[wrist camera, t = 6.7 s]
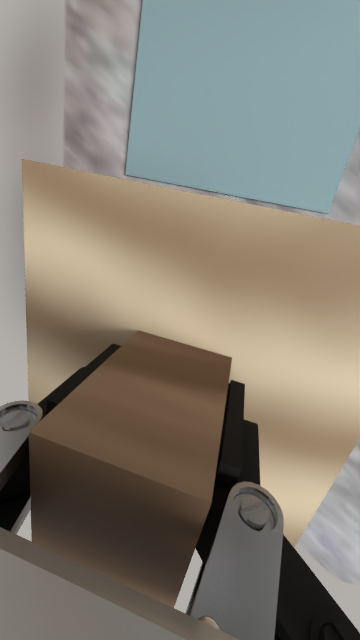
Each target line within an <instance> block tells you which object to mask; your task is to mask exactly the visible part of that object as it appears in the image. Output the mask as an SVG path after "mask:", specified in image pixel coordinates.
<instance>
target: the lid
mask: <svg viewBox="0 0 360 640" xmlns="http://www.w3.org/2000/svg"><path fill="white" fill-rule="evenodd" d="M22 182H23V218H24V250H25V251H24V252H25V287H26V322H27V357H28V391H29V401H31V402H34V403H36V404H38V403H39V402H40V401H42V400H43V399H44V398H45V397H46V396H48V395H49V394H50V393H51V392H52V391H53V390H55V389H56V388H57V387H58V386H59V385H61V384H62V383H63V382H64V381H65V380H67V379H68V378H69V377H70V376H71V375H73V374H74V373H75V372H76V371H77V370H79V369H80V368H82V367H85V366H87V365H88V364H89V363H90V362H91V361H92V360H94V359H95V358H96V357H97V356H98V355H100V354H101V353H102V352H103V351H104V350H105V349H107V348H108V347H109V346H110V345H111V344H117V345H120V346H121V347H120V348H119V349H118V350H116V351H115V352H114V353H113V354H112V355H111V356H110V357H109V358H108V359H107V360H106V361H105V362H103V363H102V364H101V365H100V366H99V367H98V368H97V369H96V370H95V371H94V372H93V373H92V374H91V375H89V376H88V377H87V378H86V379H85V380H84V381H83V382H82V383H81V384H80V385H79V386H78V387H77V388H75V389H74V390H73V391H72V392H71V393H70V394H69V395H68V396H67V397H66V398H65V399H64V400H63V401H61V402H60V403H59V404H58V405H57V406H56V407H55V408H54V409H53V410H52V411H51V412H50V413H48V414H47V415H46V416H45V417H44V418H43V419H42V420H41V421H40V422H39V423H38V424H37V425H36V426H34V427H33V428H32V429H31V430H30V431H29V464H30V497H31V529H32V542H33V543H35V544H37V545H40V546H42V547H44V548H46V549H48V550H50V551H52V552H55V553H57V554H59V555H61V556H63V557H65V558H68V559H70V560H72V561H74V562H76V563H78V564H80V565H83V566H85V567H87V568H89V569H91V570H93V571H96V572H98V573H100V574H102V575H104V576H106V577H108V578H111V579H113V580H115V581H117V582H119V583H121V584H123V585H125V586H128V587H130V588H132V589H134V590H136V591H138V592H140V593H142V594H145V595H147V596H149V597H151V598H153V599H155V600H157V601H159V602H162V603H164V604H166V605H168V606H170V607H172V608H174V605H175V603H176V600H177V597H178V594H179V591H180V589H181V586H182V583H183V580H184V578H185V574H186V572H187V569H188V566H189V564H190V561H191V558H192V555H193V553H194V550H195V547H196V545H197V542H198V539H199V536H200V534H201V531H202V528H203V525H204V523H205V520H206V517H207V514H208V511H209V509H210V506H211V503H212V496H213V489H214V482H215V475H216V468H217V461H218V454H219V447H220V440H221V433H222V426H223V419H224V412H225V405H226V398H227V390H228V383H230V381H231V380H234V381H237V382H240V383H244V384H245V397H244V420H248V421H251V422H254V423H257V424H258V433H259V460H260V486H262V487H263V488H265V489H266V490H267V491H269V492H270V494H271V495H272V496H273V497H274V498H275V499H276V501H277V502H278V504H279V505H280V508H281V510H282V513H283V518H284V529H283V534H284V536H285V537H286V538H287V539H288V541H289V542H290V543H291V545H292V546H293V547H295V545H296V543H297V542H298V540H299V538H300V537H301V535H302V533H303V532H304V530H305V528H306V527H307V525H308V523H309V522H310V520H311V518H312V517H313V515H314V513H315V512H316V510H317V508H318V507H319V505H320V503H321V502H322V500H323V498H324V497H325V495H326V493H327V492H328V490H329V488H330V487H331V485H332V483H333V482H334V480H335V478H336V477H337V475H338V473H339V472H340V470H341V468H342V467H343V465H344V463H345V462H346V460H347V458H348V457H349V455H350V453H351V452H352V450H353V448H354V447H355V445H356V443H357V442H358V440H359V438H360V226H359V225H354V224H349V223H344V222H339V221H334V220H329V219H324V218H319V217H314V216H308V215H303V214H298V213H293V212H288V211H283V210H278V209H273V208H268V207H263V206H258V205H253V204H248V203H242V202H237V201H232V200H227V199H222V198H217V197H212V196H207V195H202V194H197V193H192V192H187V191H181V190H176V189H171V188H166V187H161V186H156V185H151V184H146V183H141V182H136V181H131V180H126V179H121V178H115V177H110V176H105V175H100V174H95V173H90V172H85V171H80V170H75V169H70V168H65V167H60V166H55V165H49V164H44V163H39V162H34V161H29V160H24V159H22Z"/></svg>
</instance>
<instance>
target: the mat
mask: <svg viewBox="0 0 360 640" xmlns="http://www.w3.org/2000/svg"><path fill="white" fill-rule="evenodd" d="M359 129H360V0H143V2H142V12H141V22H140V32H139V42H138V52H137V62H136V72H135V82H134V92H133V102H132V112H131V122H130V132H129V142H128V152H127V162H126V172H125V175H128V176H134V177H139V178H144V179H149V180H154V181H160V182H165V183H170V184H175V185H180V186H186V187H191V188H196V189H201V190H207V191H212V192H217V193H222V194H227V195H233V196H238V197H243V198H248V199H253V200H259V201H264V202H269V203H274V204H279V205H285V206H290V207H295V208H300V209H305V210H311V211H316V212H321V213H326V214H327V213H328V212H329V209H330V206H331V204H332V201H333V198H334V196H335V193H336V190H337V188H338V185H339V182H340V180H341V177H342V174H343V172H344V169H345V166H346V164H347V161H348V159H349V156H350V153H351V151H352V148H353V145H354V143H355V140H356V137H357V135H358V132H359Z"/></svg>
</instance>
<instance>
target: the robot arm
mask: <svg viewBox="0 0 360 640" xmlns="http://www.w3.org/2000/svg"><path fill="white" fill-rule="evenodd" d="M120 347H121V346H120V345H117V344H111V345H110V346H109V347H108V348H107V349H105V350H104V351H103V352H102V353H101V354H100V355H98V356H97V357H96V358H95V359H94V360H92V361H91V362H90V363H89V364H88V365H87V366H85V367H82V368H80V369H79V370H77V371H76V372H75V373H74V374H73V375H71V376H70V377H69V378H68V379H67V380H65V381H64V382H63V383H62V384H61V385H59V386H58V387H57V388H56V389H55V390H53V391H52V392H51V393H50V394H49V395H48V396H46V397H45V398H44V399H43V400H42V401H40V402H39V403H38V404H36V403H34V402H31V401H15V402H11V403H7V404H5V405H3V406H1V407H0V640H360V633H359V632H358V630H357V629H356V628H355V626H354V625H353V624H352V623H351V621H350V620H349V619H348V617H347V616H346V615H345V613H344V612H343V611H342V610H341V608H340V607H339V606H338V604H337V603H336V602H335V600H334V599H333V598H332V597H331V595H330V594H329V593H328V591H327V590H326V589H325V587H324V586H323V585H322V584H321V582H320V581H319V580H318V578H317V577H316V576H315V574H314V573H313V572H312V571H311V569H310V568H309V567H308V565H307V564H306V563H305V561H304V560H303V559H302V558H301V556H300V555H299V554H298V553H297V551H296V550H295V549H294V547H293V546H292V545H291V543H290V542H289V541H288V539H287V538H286V537H285V536H284V534H283V529H284V518H283V513H282V510H281V508H280V505H279V504H278V502H277V501H276V499H275V498H274V497H273V496H272V495H271V494H270V492H269V491H267V490H266V489H265V488H263V487H262V486H260V460H259V433H258V424H257V423H254V422H251V421H248V420H244V397H245V384H244V383H240V382H237V381H234V380H231V381H230V383H228V390H227V398H226V405H225V412H224V419H223V426H222V433H221V440H220V447H219V454H218V461H217V468H216V475H215V482H214V489H213V496H212V503H211V506H210V509H209V511H208V514H207V517H206V520H205V523H204V525H203V528H202V531H201V534H200V536H199V539H198V542H197V545H196V547H195V548H196V550H197V551H198V553H199V555H200V557H201V559H202V565H201V567H200V571H199V574H198V577H197V580H196V583H195V586H194V589H193V592H192V595H191V598H190V601H189V604H188V607H187V610H186V613H183V612H181V611H178V610H176V609H174V608H172V607H170V606H168V605H166V604H164V603H162V602H159V601H157V600H155V599H153V598H151V597H149V596H147V595H145V594H142V593H140V592H138V591H136V590H134V589H132V588H130V587H128V586H125V585H123V584H121V583H119V582H117V581H115V580H113V579H111V578H108V577H106V576H104V575H102V574H100V573H98V572H96V571H93V570H91V569H89V568H87V567H85V566H83V565H80V564H78V563H76V562H74V561H72V560H70V559H68V558H65V557H63V556H61V555H59V554H57V553H55V552H52V551H50V550H48V549H46V548H44V547H42V546H40V545H37V544H35V543H33V542H31V541H29V540H27V539H24V538H22V537H20V536H18V535H16V534H17V532H18V531H19V529H20V527H21V525H22V524H23V522H24V520H25V518H26V516H27V515H28V513H29V511H30V509H31V497H30V464H29V431H30V430H31V429H32V428H33V427H34V426H36V425H37V424H38V423H39V422H40V421H41V420H42V419H43V418H44V417H45V416H46V415H47V414H48V413H50V412H51V411H52V410H53V409H54V408H55V407H56V406H57V405H58V404H59V403H60V402H61V401H63V400H64V399H65V398H66V397H67V396H68V395H69V394H70V393H71V392H72V391H73V390H74V389H75V388H77V387H78V386H79V385H80V384H81V383H82V382H83V381H84V380H85V379H86V378H87V377H88V376H89V375H91V374H92V373H93V372H94V371H95V370H96V369H97V368H98V367H99V366H100V365H101V364H102V363H103V362H105V361H106V360H107V359H108V358H109V357H110V356H111V355H112V354H113V353H114V352H115V351H116V350H118V349H119V348H120Z"/></svg>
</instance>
